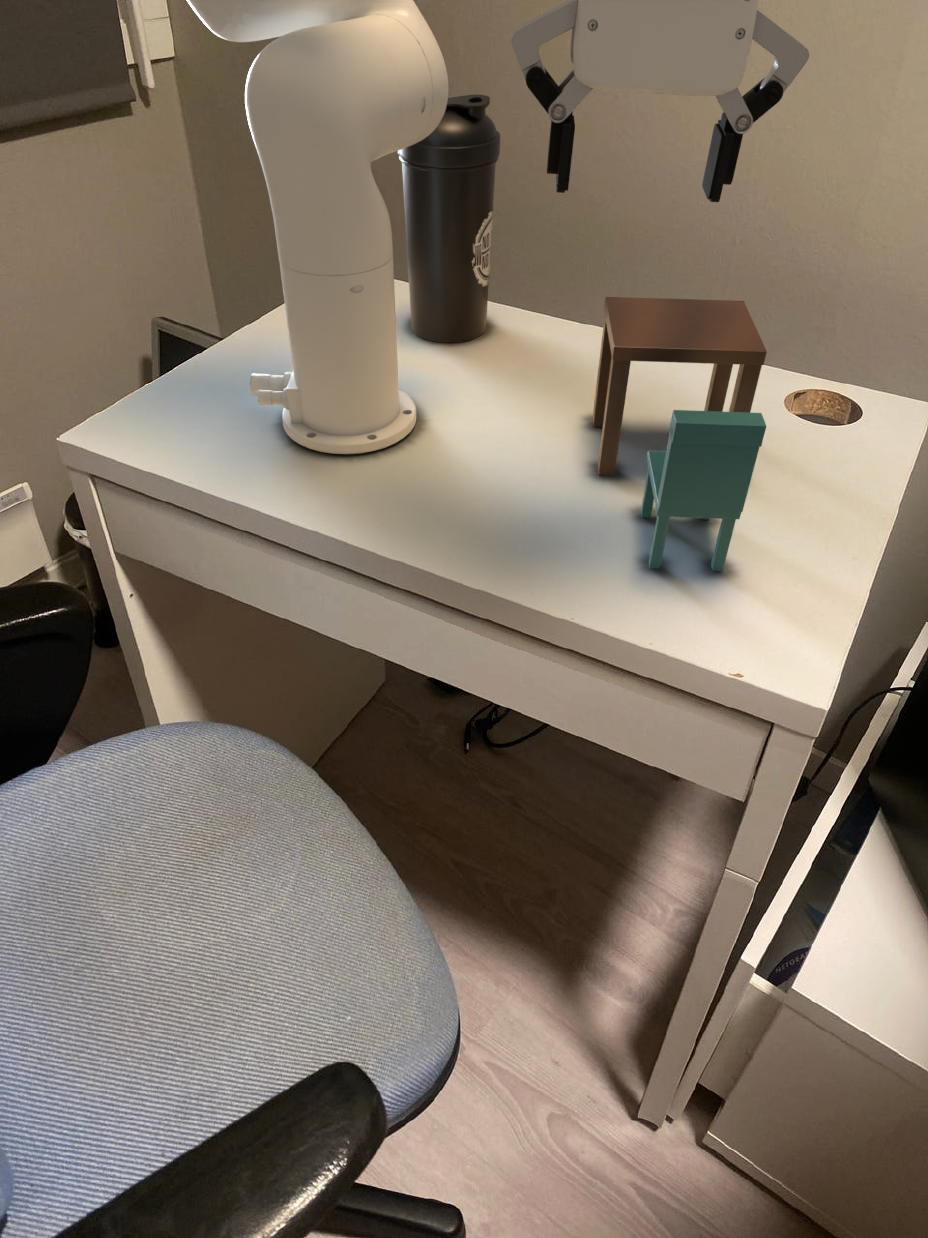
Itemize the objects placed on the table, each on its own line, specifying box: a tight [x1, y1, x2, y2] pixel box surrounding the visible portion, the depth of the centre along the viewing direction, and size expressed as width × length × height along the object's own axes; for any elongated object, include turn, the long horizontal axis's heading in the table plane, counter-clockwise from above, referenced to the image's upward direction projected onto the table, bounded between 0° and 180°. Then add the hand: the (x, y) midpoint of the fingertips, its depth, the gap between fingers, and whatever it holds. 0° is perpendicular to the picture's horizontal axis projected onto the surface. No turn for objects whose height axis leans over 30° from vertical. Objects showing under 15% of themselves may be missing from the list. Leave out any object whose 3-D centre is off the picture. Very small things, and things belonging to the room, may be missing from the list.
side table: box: [592, 296, 768, 477], centre depth 78 cm, size 12×10×12 cm
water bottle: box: [397, 94, 501, 344], centre depth 94 cm, size 10×10×23 cm
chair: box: [640, 409, 767, 572], centre depth 67 cm, size 8×6×13 cm
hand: (635, 190), depth 58 cm, fingers open, 9 cm apart
